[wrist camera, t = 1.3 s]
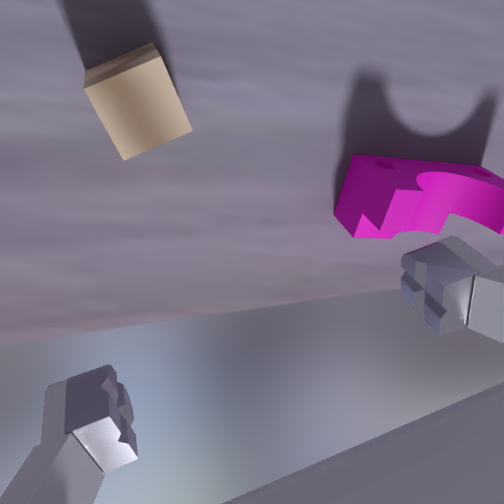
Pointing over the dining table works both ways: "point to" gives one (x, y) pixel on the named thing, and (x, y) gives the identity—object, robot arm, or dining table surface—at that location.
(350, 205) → the toy block
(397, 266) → the dining table surface
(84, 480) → the robot arm
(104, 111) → the beech block
